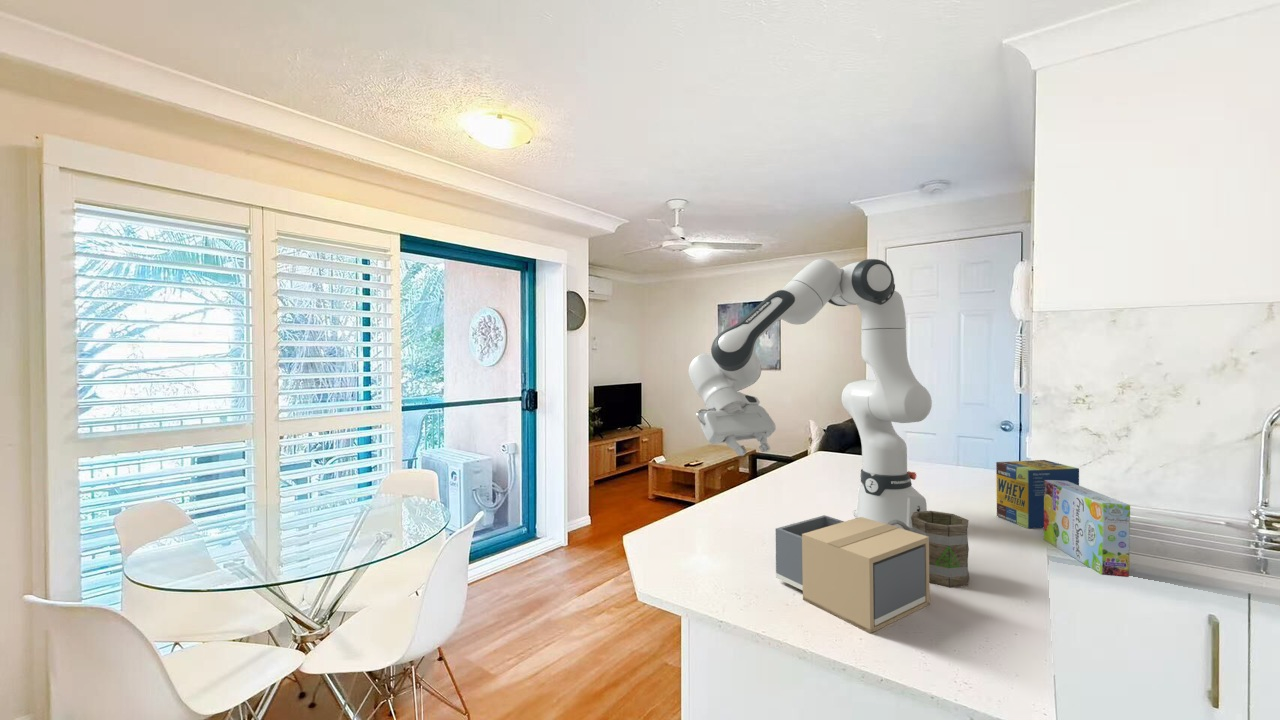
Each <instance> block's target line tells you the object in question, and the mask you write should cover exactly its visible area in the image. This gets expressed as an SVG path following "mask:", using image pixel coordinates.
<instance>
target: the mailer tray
mask: <svg viewBox="0 0 1280 720" xmlns="http://www.w3.org/2000/svg"><path fill="white" fill-rule="evenodd" d="M845 521H846V520H845ZM845 521H844V520H841V519H837V518H834V517H831V516H830V515H829V516H828V515H825V514H824V515H820V516H817V517H813V518H810V519H805V520H802V521H797V522H795V523H794V522H793V523H791V524H787V525H783V526H780V527H776V528H775V578H776V579H778V580H779V581H782V582H784V583H787V584H788V585H791V586H792V587H794V588H796V589H799V590H801V591H803V572H802V534H804V533H807V532H811V531H814V530H817V529H821V528H824V527H828V526H831V525H835V524H838V523H841V522H845ZM923 602H925V546H922V545H920V546H917V547H915V548H912V549H909V550H907V551H904V552H901V553H899V554H896V555H893V556H891V557H888V558H886V559H883V560H880V561H878V562H875V563H873V603H874V625H878V624H880V623H882V622H884V621H886V620H888V619H890V618H892V617H894V616H896V615H898V614H900V613H902V612H904V611H906V610H908V609H911V608H913V607H915V606H917V605H919V604H921V603H923Z"/></svg>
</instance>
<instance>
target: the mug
mask: <svg viewBox="0 0 1280 720" xmlns="http://www.w3.org/2000/svg"><path fill="white" fill-rule="evenodd" d="M911 520H912V528H909V527H908V526H907V525H906V524H905V523H903V522H901V521H899V520H896V519H895V520H892V521H890V522H888V524H889V525H895V524H899V525H901V526H902V527H903V528H904V529H905V530H908V531H911V532H914V533H918V534H921V535H925V536H928V537H929V585H930V584H931V585H936V586H940V587H943V588H944V587H945V588H950V589H951V588H961V586H962V587H968V586H969V584H970V583H969V581H970V574H969V551H970V549H969V539H968V538H969V537H968V528H969V519H967V518H964V517H962V516H960V515H957V514H954V513H949V512H943V511H935V510H927V511H920V512H914V513H913V514H912V516H911Z"/></svg>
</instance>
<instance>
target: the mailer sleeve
mask: <svg viewBox="0 0 1280 720" xmlns="http://www.w3.org/2000/svg"><path fill="white" fill-rule="evenodd" d="M920 545H922V546H925V602H923V603H921V604H919V605H917V606H915V607H913V608H911V609H908V610H906V611H904V612H902V613H900V614H898V615H896V616H894V617H892V618H890V619H888V620H886V621H884V622H882V623H880V624H878V625H874V603H873V563H875V562H878V561H880V560H883V559H886V558H888V557H891V556H893V555H896V554H899V553H901V552H904V551H907V550H909V549H912V548H915V547H917V546H920ZM802 572H803V590H802V600H803V601H804V602H807V603H809V604H811V605H812V606H815V607H817V608H818V609H821V610H822V611H824V612H827V613H829V614H830V615H833V616H835V617H837V618H838V619H841V620H842V621H845V622H847V623H849V624H850V625H853V626H855V627H857V628H858V629H860V630H862V631H864V632H866V633H868V634H871V633H874V632H876V631H878V630H880V629H882V628H884V627H886V626H888V625H891V624H892V623H895V622H896V621H898V620H900V619H902V618H904V617H906V616H908V615H911V614H913V613H914V612H917V611H918V610H920V609H922V608H924V607H927V606H929V605H930V604H931V603H930V602H931V600H930V583H929V537H928V536H925V535H921V534H918V533H914V532H911V531H908V530H904V529H901V528H899V527H896V526H893V525H889V524H884V523H880V522H877V521H873V520H870V519H867V518H863V517H859V518H857V517H855V518H852V519H849V520H845V522H841V523H838V524H835V525H831V526H828V527H824V528H821V529H817V530H814V531H811V532H807V533H804V534H802Z"/></svg>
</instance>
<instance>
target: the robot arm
mask: <svg viewBox="0 0 1280 720" xmlns="http://www.w3.org/2000/svg"><path fill="white" fill-rule="evenodd" d="M828 303H829V304H831V305H832V306H833V305H834V306H836V307H847V306H856V305H857V307H858V309H859V311H860V315H861V325H860V326H861V327H860V329H861V332H860V335H861V341H860V342H861V343H860V345H861V352H860V353H861V359H862V360H863V362H864V363H866V364H867V365H869V366H870V367H871V368H870V369H872V371H873V373H874V376H875V379H861V380H855V381H852V382H849V383H847V384H846V385H845V386H844V388H843V389H842V392H841V404H842V406H843V408H844V410H845V411H846V412H847V413H848V414H849V415H850V417H852V420H853V422H854V424H855V427H856V428H857V431H858V435H859V438H860V443H861V460H862V461H861V462H862V464H861V465H862V468H861V469H860V483H861V485H859V487H858V488H857V489H858V490H857V491H858V492H857V501H856V509H855V510H853V516H855V518H859V517H863V518H867V519H870V520H873V521H877V522H880V523H884V524H888V522H890V521H892V520H895V519H896V520H899V521H901V522H903V523H905V524H906V525H907V526H908V527H909V528H912V520H911V516H912V514H913V513H914V512H920V511H928V507H927V499H926V498H925V496H924V495H922V494H921V493H920V492H919V491H918V490H916V489H915V487H913V486H912V484H913V483H912V480H916V479H917V473H916V472H914V471H908V447H907V443H906V442H905V440H904V439H903V438H902V437H901V436H900V434H898V433H897V432H896V430H895V428H894V426H893V424H892V423H899V424H910V423H919V422H922V421H924V420H925V419H926V418H927V417H928V416H929V414H930V412H931V410H932V406H933V405H932V404H933V403H932V402H933V401H932V397H931V394H930V392H929V391H928V389H927V387H925V386H923V385H922V384H921V382H919V381H918V379H917V378H916V376H915V375H914V373H913V370H912V368H911V366H910V363H909V358H908V352H907V351H908V349H907V347H908V346H907V321H906V319H907V318H906V311H905V306H904V300H903V297H902V294H901V293H900V292H898V291H897V290H896V284H895V277H894V274H893V270H892V268H891V266H890V265H889V264H888V263H887V262H886V261H884V260H881V259H876V258H869V259H868V258H867V259H864V260H862V261H856V262H852V263H849V264H846V265H845V266H842V267H840V268H839V267H838V266H837V265H836V264H835V263H834V262H832V261H831V260H829V259H825V258H819V259H815V260H812V261H811V262H810V263H808V264H806V266H805V267H804V268H802V269H801V270H799V272H798V273H796V275H794V276H793V277H792V278H791V280H789V282H788V283H786V285H784V287H783V288H781V289H780V290H776V291H774V292H773V293H771V294H770V295H768V296H766V298H765V299H764V300H762V301H761V302H760V303H759V304H758V305H757V306H755V307H754V308H753V309H752V310H751V311H750V312H749V313H747V314H746V315H745V316H744V317H743V318H741V320H739V321H738V322H737V323H735V324H734V325H732V326H730V327H728V328H726V329H725V330H723V331H721V332H720V333H719V334H718V335H717V336H715V338H714V339H713V341H712V344H711V346H710V347H711V348H710V350H711V351H710V352H711V353H706V352H703V353H700V354H698V355H697V356H695V358H693V359H692V360H691V362H690V364H689V367H688V371H687V372H688V377H689V379H690V382H691V384H692V387H693V388H694V390H695V391H696V393H697V394H698V396H699V397H700V398H701V399H702V400H703V403H704V406H705V408H706V409H705V408H701V409H699V410H698V411H697V412H696V418H697V419H698V421H699V424H700V427H701V430H702V432H703V435H704V437H705V439H706V440H707V442H708V443H710V444H711V445H716V444H717V445H718V444H724V443H725V444H726V445H727V446H728V447H729V448H730V449H732V450H733V451H735V453H736V454H737V456H738V457H741V456H745V455H746V454H747V449H746V448H745V446H744V445H741V444H740V443H739V442H740V441H747V440H749V441H750V440H757V441H758V442H759V443H760V445H759V450H760V451H761V452H762V453H768V452H769V451H770V450H771V447H770V445H769V443H768V438H770V437H771V436H772V435H773V433H774V432H775V431H776V423H775V421H774V420H773V419H772V417H771V415H770V414H769V413H768V412H767V410H766V409H765V408H764V407H763V406H761V405H760V403H761V401H760V400H759V398H758V397H756V396H752V395H749V394H746V393H742V392H740V391H742V390H744V389H746V388H748V387H751V386H752V385H754V384H755V383H756V382H757V381H758V380H759V378H760V376H761V373H762V366H761V364H760V361H759V357H758V355H757V353H756V350H755V348H756V344H757V341H759V339H760V338H761V337H762V336H763V335H764V334H765V333H767V332H768V331H769V329H771V328H772V327H773V326H774V325H775V324H776V323H777V322H778V321H781V320H783V321H784V322H786V323H789V324H791V325H804V324H806V323H809V322H810V321H811V320H812V319H813V318H815V317H816V316H817V315H818V313H819V312H820V311H821V310H822V309H823V308H824V307H825V305H826V304H828ZM893 526H896V527H899V528H901V529H904V528H903V527H902V526H901V525H899V524H895V525H893ZM904 530H905V529H904Z"/></svg>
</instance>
